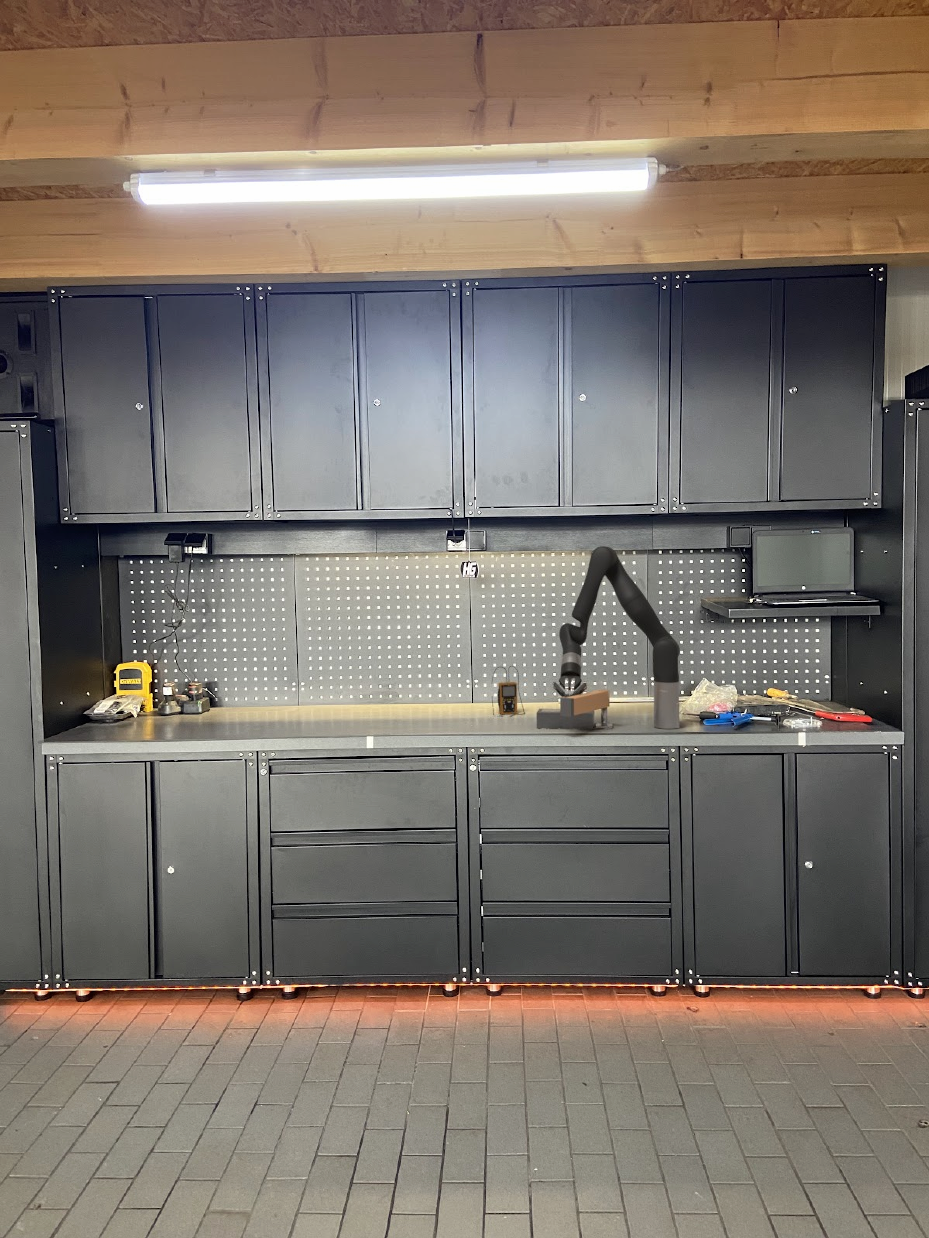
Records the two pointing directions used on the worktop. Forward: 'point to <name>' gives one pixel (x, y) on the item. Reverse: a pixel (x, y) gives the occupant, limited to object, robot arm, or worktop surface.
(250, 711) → the worktop surface
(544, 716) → the dark grey brick
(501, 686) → the multimeter
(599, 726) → the hinge post
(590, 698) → the bar
